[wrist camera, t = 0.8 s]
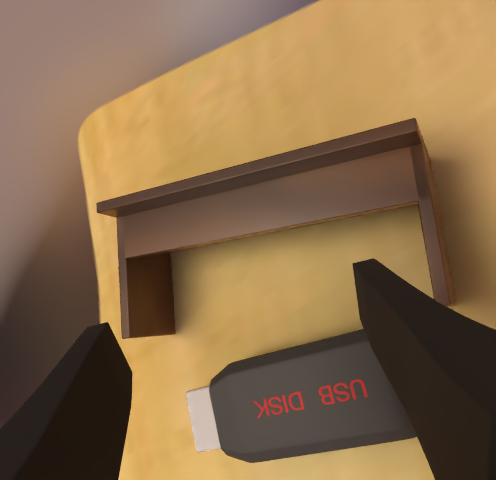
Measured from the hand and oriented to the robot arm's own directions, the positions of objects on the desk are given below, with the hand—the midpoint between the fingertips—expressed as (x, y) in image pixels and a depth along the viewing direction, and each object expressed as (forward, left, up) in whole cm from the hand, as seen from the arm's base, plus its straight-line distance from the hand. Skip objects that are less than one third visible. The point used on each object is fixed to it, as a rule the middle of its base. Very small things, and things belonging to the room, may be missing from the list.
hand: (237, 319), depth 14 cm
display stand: (+3, +3, -13) cm, 14 cm away
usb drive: (-4, +3, -13) cm, 14 cm away
